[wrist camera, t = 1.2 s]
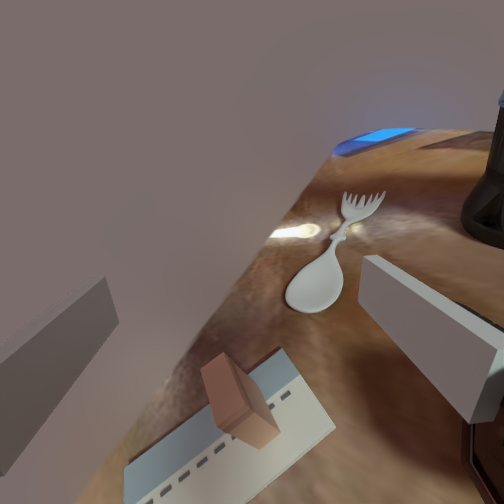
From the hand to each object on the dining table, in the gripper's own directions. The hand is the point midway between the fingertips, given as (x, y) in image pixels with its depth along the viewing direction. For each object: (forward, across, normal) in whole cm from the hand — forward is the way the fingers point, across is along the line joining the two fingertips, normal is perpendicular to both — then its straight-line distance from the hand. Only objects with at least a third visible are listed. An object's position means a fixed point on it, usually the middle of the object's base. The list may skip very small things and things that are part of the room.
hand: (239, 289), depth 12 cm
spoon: (+31, +19, -11) cm, 38 cm away
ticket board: (+8, -4, -27) cm, 28 cm away
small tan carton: (+9, +1, -23) cm, 25 cm away
